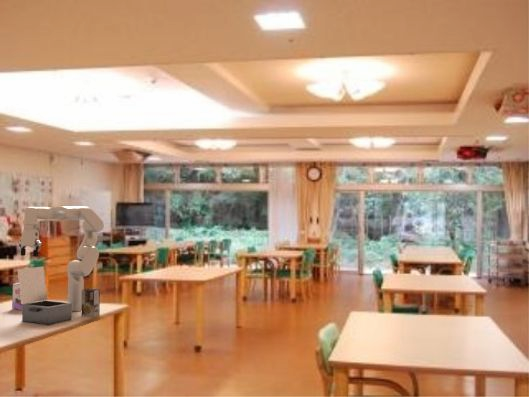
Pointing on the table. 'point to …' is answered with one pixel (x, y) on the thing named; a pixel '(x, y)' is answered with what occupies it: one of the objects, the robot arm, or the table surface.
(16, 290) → the candy box
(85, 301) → the coffee box
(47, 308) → the grey storage box
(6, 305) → the table surface
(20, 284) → the lid
